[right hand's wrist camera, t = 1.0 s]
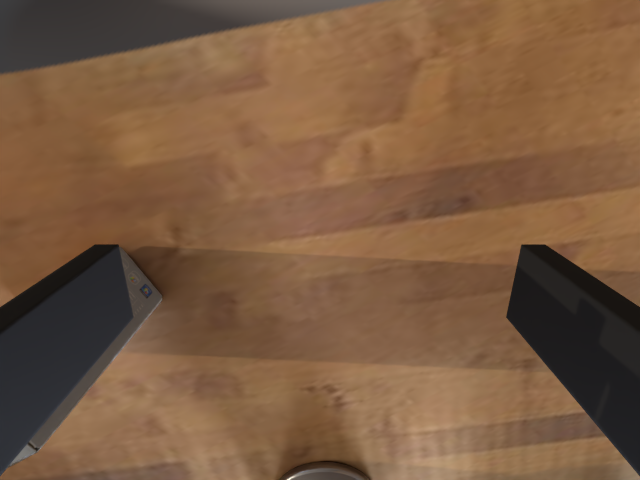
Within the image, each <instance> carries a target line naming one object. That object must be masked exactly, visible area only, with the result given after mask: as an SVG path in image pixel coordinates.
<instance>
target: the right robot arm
mask: <svg viewBox="0 0 640 480" xmlns="http://www.w3.org/2000/svg"><path fill="white" fill-rule="evenodd" d="M133 318H134V316H133V311H132V307H131V302H130V297H129V292H128V288H127V283H126V278H125V273H124V269H123V264H122V259H121V254H120V250H119V245H94V246H92V247H91V248H89V249H88V250H86V251H85V252H83V253H82V254H80V255H78V256H77V257H75V258H74V259H72V260H71V261H69V262H68V263H66V264H65V265H63V266H62V267H60V268H59V269H57V270H56V271H54V272H53V273H51V274H50V275H48V276H47V277H45V278H44V279H42V280H41V281H39V282H38V283H36V284H35V285H33V286H32V287H30V288H29V289H27V290H26V291H24V292H23V293H21V294H20V295H18V296H17V297H15V298H14V299H12V300H11V301H9V302H7V303H6V304H4V305H3V306H1V307H0V476H1V475H2V473H3V472H4V471H5V470H6V469H7V467H8V466H9V465H10V464H11V463H12V461H13V460H14V459H15V458H16V457H17V456H18V454H19V453H20V452H21V451H22V450H23V448H24V447H25V446H26V445H27V444H28V442H29V441H30V440H31V439H32V438H33V436H34V435H35V434H36V433H37V432H38V431H39V429H40V428H41V427H42V426H43V425H44V423H45V422H46V421H47V420H48V419H49V417H50V416H51V415H52V414H53V413H54V411H55V410H56V409H57V408H58V407H59V406H60V404H61V403H62V402H63V401H64V400H65V398H66V397H67V396H68V395H69V394H70V392H71V391H72V390H73V389H74V388H75V387H76V385H77V384H78V383H79V382H80V381H81V379H82V378H83V377H84V376H85V375H86V373H87V372H88V371H89V370H90V369H91V367H92V366H93V365H94V364H95V363H96V362H97V360H98V359H99V358H100V357H101V356H102V354H103V353H104V352H105V351H106V350H107V348H108V347H109V346H110V345H111V344H112V342H113V341H114V340H115V339H116V338H117V337H118V335H119V334H120V333H121V332H122V331H123V329H124V328H125V327H126V326H127V325H128V323H129V322H130V321H131V320H132V319H133ZM506 318H507V319H508V320H509V321H510V322H511V323H512V325H513V326H514V327H515V328H516V329H517V331H518V332H519V333H520V334H521V335H522V337H523V338H524V339H525V340H526V341H527V342H528V344H529V345H530V346H531V347H532V348H533V350H534V351H535V352H536V353H537V354H538V356H539V357H540V358H541V359H542V360H543V362H544V363H545V364H546V365H547V366H548V367H549V369H550V370H551V371H552V372H553V373H554V375H555V376H556V377H557V378H558V379H559V381H560V382H561V383H562V384H563V385H564V387H565V388H566V389H567V390H568V391H569V392H570V394H571V395H572V396H573V397H574V398H575V400H576V401H577V402H578V403H579V404H580V406H581V407H582V408H583V409H584V410H585V411H586V413H587V414H588V415H589V416H590V417H591V419H592V420H593V421H594V422H595V423H596V425H597V426H598V427H599V428H600V429H601V431H602V432H603V433H604V434H605V435H606V436H607V438H608V439H609V440H610V441H611V442H612V444H613V445H614V446H615V447H616V448H617V450H618V451H619V452H620V453H621V454H622V456H623V457H624V458H625V459H626V460H627V461H628V463H629V464H630V465H631V466H632V467H633V469H634V470H635V471H636V472H637V473H638V475H639V476H640V307H639V306H637V305H636V304H634V303H633V302H631V301H629V300H628V299H626V298H625V297H623V296H622V295H620V294H619V293H617V292H616V291H614V290H613V289H611V288H610V287H608V286H607V285H605V284H604V283H602V282H601V281H599V280H598V279H596V278H595V277H593V276H592V275H590V274H589V273H587V272H586V271H584V270H583V269H581V268H580V267H578V266H577V265H575V264H574V263H572V262H571V261H569V260H568V259H566V258H565V257H563V256H562V255H560V254H558V253H557V252H555V251H554V250H552V249H551V248H549V247H548V246H546V245H521V250H520V254H519V259H518V264H517V269H516V273H515V278H514V283H513V288H512V292H511V297H510V302H509V307H508V311H507V316H506ZM279 480H370V479H369V478H368V477H367V476H366V475H364V474H363V473H362V472H360V471H359V470H357V469H355V468H353V467H350V466H348V465H344V464H340V463H334V462H315V463H309V464H305V465H302V466H299V467H296V468H294V469H292V470H290V471H289V472H287V473H286V474H285V475H283V476H282V477H281V478H280V479H279Z"/></svg>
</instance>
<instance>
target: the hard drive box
mask: <svg viewBox="0 0 640 480" xmlns="http://www.w3.org/2000/svg"><path fill="white" fill-rule="evenodd" d="M119 250H120V254H121V259H122V264H123V269H124V273H125V278H126V283H127V288H128V292H129V297H130V302H131V307H132V311H133V316H134V318H133V319H132V320H131V321H130V322H129V323H128V325H127V326H126V327H125V328H124V329H123V331H122V332H121V333H120V334H119V335H118V337H117V338H116V339H115V340H114V341H113V342H112V344H111V345H110V346H109V347H108V348H107V350H106V351H105V352H104V353H103V354H102V356H101V357H100V358H99V359H98V360H97V362H96V363H95V364H94V365H93V366H92V367H91V369H90V370H89V371H88V372H87V373H86V375H85V376H84V377H83V378H82V379H81V381H80V382H79V383H78V384H77V385H76V387H75V388H74V389H73V390H72V391H71V392H70V394H69V395H68V396H67V397H66V398H65V400H64V401H63V402H62V403H61V404H60V406H59V407H58V408H57V409H56V410H55V411H54V413H53V414H52V415H51V416H50V417H49V419H48V420H47V421H46V422H45V423H44V425H43V426H42V427H41V428H40V429H39V431H38V432H37V433H36V434H35V435H34V436H33V438H32V439H31V440H30V441H29V442H28V444H27V445H26V446H25V447H24V448H23V450H22V451H21V452H20V453H19V454H18V456H17V457H16V458H15V459H14V460H13V461H12V463H11V464H10V465H9V466H8V467H10V466H12V465H14V464H16V463H18V462H20V461H22V460H24V459H26V458H28V457H30V456H31V455H33V454H35V453H37V452H38V451H39V450H40V449H41V448H42V446H43V445H44V444H45V443H46V442H47V440H48V439H49V438H50V437H51V436H52V434H53V433H54V432H55V431H56V430H57V428H58V427H59V426H60V425H61V424H62V422H63V421H64V420H65V419H66V417H67V416H68V415H69V414H70V412H71V411H72V410H73V409H74V408H75V406H76V405H77V404H78V403H79V401H80V400H81V399H82V398H83V396H84V395H85V394H86V393H87V392H88V390H89V389H90V388H91V387H92V385H93V384H94V383H95V382H96V381H97V379H98V378H99V377H100V376H101V374H102V373H103V372H104V371H105V370H106V368H107V367H108V366H109V365H110V364H111V362H112V361H113V360H114V359H115V357H116V356H117V355H118V354H119V353H120V351H121V350H122V349H123V348H124V346H125V345H126V344H127V343H128V342H129V340H130V339H131V338H132V337H133V336H134V334H135V333H136V332H137V331H138V329H139V328H140V327H141V326H142V325H143V323H144V322H145V321H146V320H147V318H148V317H149V316H150V315H151V314H152V312H153V311H154V310H155V309H156V307H157V306H158V305H159V304H160V302H161V301H162V295H161V294H160V293H159V291H158V290H157V289H156V288H155V287H154V286H153V284H152V283H151V282H150V281H149V280H148V278H147V277H146V276H145V275H144V274H143V272H142V271H141V270H140V269H139V268H138V267H137V265H136V264H135V263H134V262H133V261H132V259H131V258H130V257H129V256H128V255H127V253H126V252H125V251H124V250H123V249H122V248H121V247H119ZM8 467H7V468H8Z"/></svg>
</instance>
